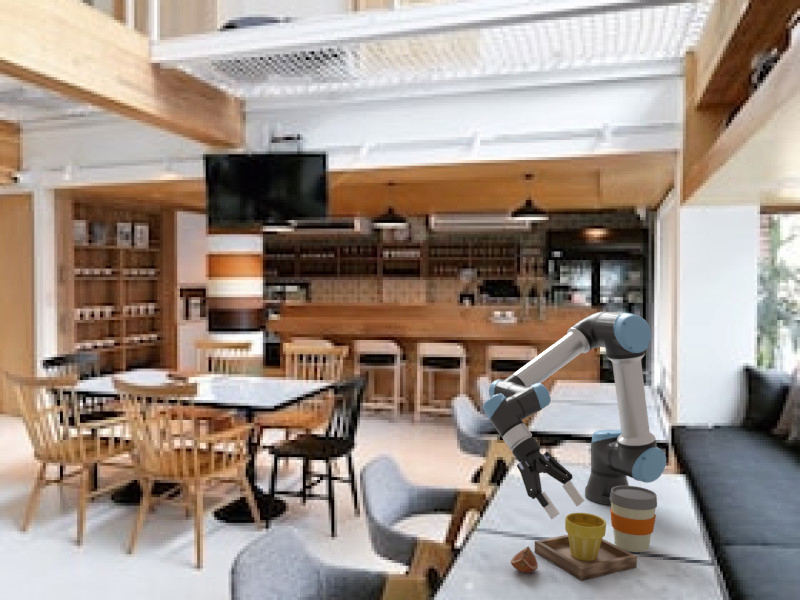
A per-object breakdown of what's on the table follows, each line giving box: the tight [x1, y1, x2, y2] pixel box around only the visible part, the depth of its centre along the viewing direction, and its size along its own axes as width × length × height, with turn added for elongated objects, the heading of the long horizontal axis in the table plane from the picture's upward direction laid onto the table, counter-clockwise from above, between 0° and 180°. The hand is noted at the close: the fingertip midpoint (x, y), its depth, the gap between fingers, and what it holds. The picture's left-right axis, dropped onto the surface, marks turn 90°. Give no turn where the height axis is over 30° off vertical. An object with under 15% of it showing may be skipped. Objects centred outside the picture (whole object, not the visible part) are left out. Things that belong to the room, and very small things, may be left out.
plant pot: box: [564, 512, 607, 561], centre depth 173 cm, size 10×10×10 cm
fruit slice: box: [510, 546, 539, 574], centre depth 166 cm, size 8×7×5 cm
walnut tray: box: [534, 534, 638, 582], centre depth 173 cm, size 18×18×3 cm
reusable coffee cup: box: [609, 485, 658, 553], centre depth 184 cm, size 13×13×15 cm
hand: (568, 510), depth 176 cm, fingers open, 13 cm apart
